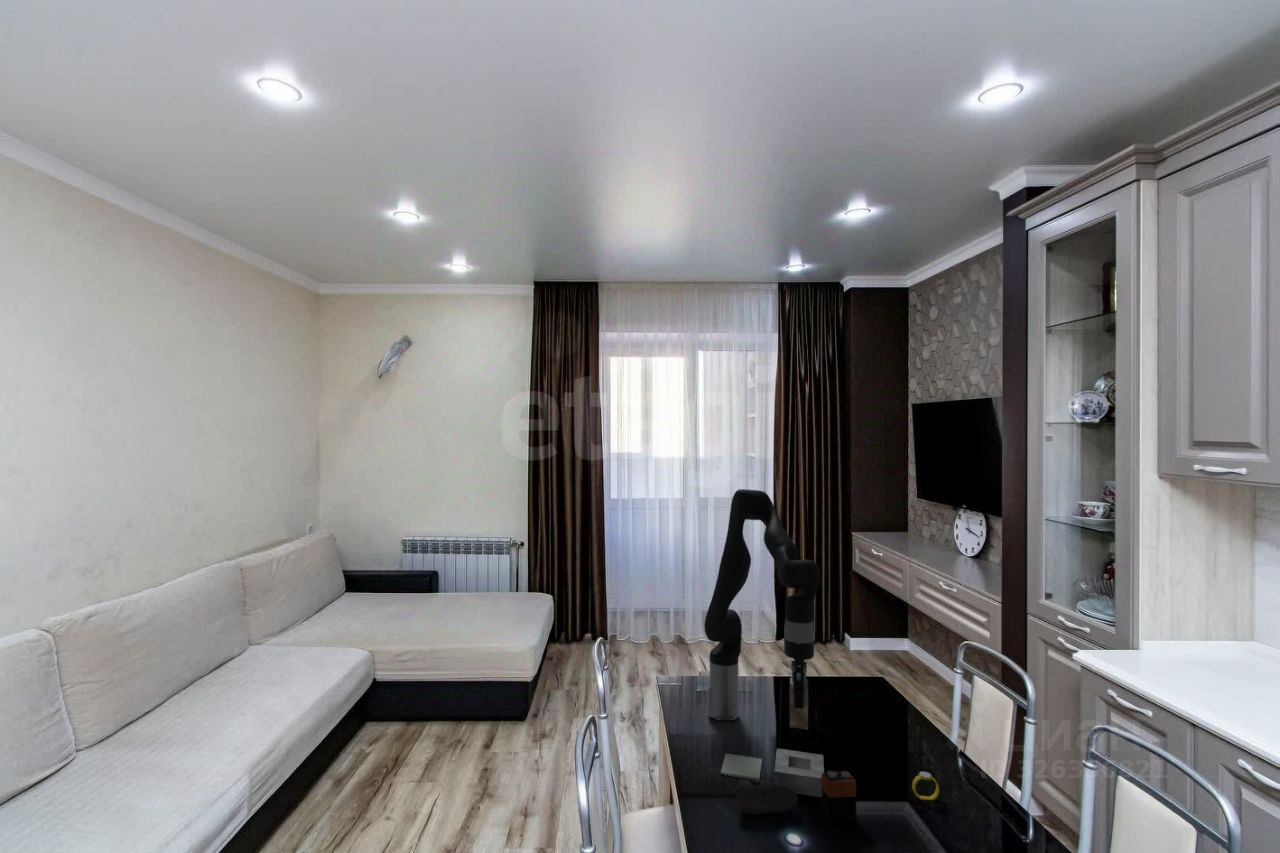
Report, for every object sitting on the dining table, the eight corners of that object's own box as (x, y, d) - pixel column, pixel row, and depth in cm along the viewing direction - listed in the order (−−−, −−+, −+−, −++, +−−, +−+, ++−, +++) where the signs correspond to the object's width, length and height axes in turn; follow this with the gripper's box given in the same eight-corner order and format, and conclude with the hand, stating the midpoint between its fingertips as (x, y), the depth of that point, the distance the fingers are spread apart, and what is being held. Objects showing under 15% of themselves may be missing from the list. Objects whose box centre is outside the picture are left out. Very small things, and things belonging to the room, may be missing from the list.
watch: (916, 802, 143) (913, 777, 143) (911, 795, 145) (909, 771, 146) (941, 802, 142) (939, 777, 142) (937, 795, 145) (934, 771, 145)
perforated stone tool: (794, 805, 141) (794, 775, 141) (801, 819, 135) (800, 788, 136) (732, 805, 140) (732, 775, 141) (736, 818, 135) (736, 787, 136)
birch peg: (789, 727, 150) (789, 683, 151) (790, 719, 155) (790, 677, 155) (808, 729, 149) (808, 685, 149) (808, 721, 153) (808, 679, 154)
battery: (821, 811, 138) (820, 768, 139) (848, 810, 139) (848, 767, 139) (828, 823, 134) (828, 778, 134) (857, 821, 134) (856, 777, 135)
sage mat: (720, 774, 154) (720, 772, 154) (725, 755, 163) (725, 753, 163) (759, 780, 151) (759, 778, 151) (762, 761, 161) (762, 758, 161)
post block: (774, 789, 147) (774, 771, 147) (776, 765, 158) (776, 748, 159) (824, 797, 144) (824, 779, 144) (823, 772, 155) (823, 754, 155)
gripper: (785, 628, 161) (785, 691, 160) (783, 644, 147) (783, 713, 146) (813, 630, 158) (813, 694, 158) (814, 647, 145) (814, 717, 144)
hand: (799, 703), depth 152 cm, fingers closed on birch peg, 4 cm apart
